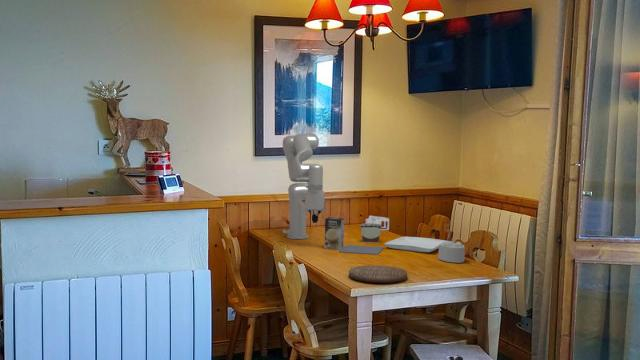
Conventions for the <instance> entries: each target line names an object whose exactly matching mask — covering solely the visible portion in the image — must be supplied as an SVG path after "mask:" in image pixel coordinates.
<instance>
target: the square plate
mask: <svg viewBox="0 0 640 360" xmlns="http://www.w3.org/2000/svg"><path fill="white" fill-rule="evenodd" d="M446 241H447V242H448V241H449V240H444V239H437V238H430V237H421V236H420V237H418V236H402V237H398V238H395V239H392V240H389V241H387V242H384V245H385V246H386V247H387V248H390V249H394V250H399V251H400V250H401V251H408V252H414V253H415V252H416V253H431V252H434V251H436V250H439V244H441V243H443V242H446Z"/></svg>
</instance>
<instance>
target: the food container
mask: <svg viewBox="0 0 640 360" xmlns="http://www.w3.org/2000/svg"><path fill="white" fill-rule="evenodd" d="M382 227H383V226H382V224H381V225H380V224H371V223H368V224H365V223H361V224H360V227H359V229H360V231H361V243H364V244H365V243H369V244H380V238H381V232H382V230H381V229H383V228H382Z"/></svg>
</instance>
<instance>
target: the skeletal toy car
mask: <svg viewBox="0 0 640 360" xmlns="http://www.w3.org/2000/svg"><path fill="white" fill-rule="evenodd" d="M382 222H384V223H383V225H384V226H382ZM368 223H371V224H380V225H381V226H382V229H381V231H389V230H390V218H389V217H384V216H374V215H368V218H365V223H364V224H368ZM386 223H387V225H386Z"/></svg>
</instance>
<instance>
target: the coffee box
mask: <svg viewBox="0 0 640 360" xmlns="http://www.w3.org/2000/svg"><path fill="white" fill-rule="evenodd" d="M344 238H345V218H342V217H333V216H332V217H330V216H328V217H325V218H324V249H326V250H336V251H337V250H338V251H340V250H341V249H343V248H344Z"/></svg>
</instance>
